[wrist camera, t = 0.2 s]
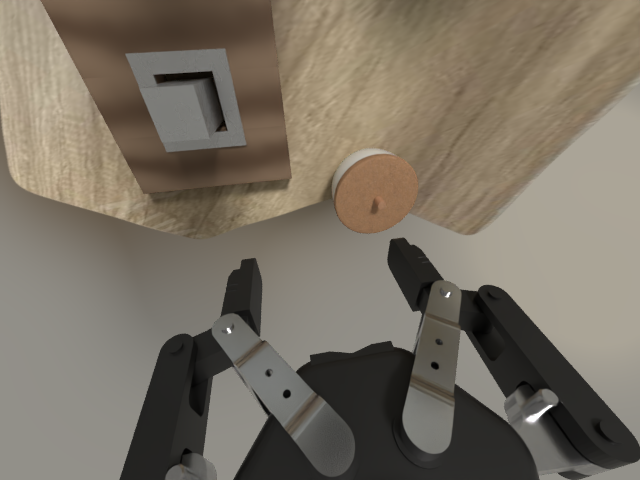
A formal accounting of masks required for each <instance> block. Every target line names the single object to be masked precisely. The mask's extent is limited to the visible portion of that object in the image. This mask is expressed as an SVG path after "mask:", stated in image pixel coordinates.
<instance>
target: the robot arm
mask: <svg viewBox="0 0 640 480" xmlns="http://www.w3.org/2000/svg"><path fill="white" fill-rule="evenodd" d="M387 260H388V265H389V268H390V270H391V272H392V274H393V276H394V278H395V280H396V281H397V283H398V285H399V287H400V289H401V291H402V292H403V294H404V296H405V298H406V300H407V301H408V304H409V305H410V307H411V309H412V311H413V312H414V311H421V313H422V317H421V320H420V324H419V328H418V332H417V336H416V340H415V344H414V347H413V350H412V352H409V351H407V350H405V349H402V348H397V347H393V345H392V342H391V341H387V342H382V343H376V344H371V345H369V346H367V347H365V348H363V349H361V350H359V351H356V352H354V353H342V352H326V353H320V354H314V355H310V360H311V361H310V362H308V363H306V364H305V365H303V366H302V367H300V368H299V369H298V370H297V371H296V372H295V371H294V370H293V369H292V368H291V367H290V366H289V365H288V363H287V362H286V361H285V360H284V359H283V358H282V357H281V356H280V355H279V354H278V353H277V352H276V351H275V350H274V349H273V347H272V346H271V345H270V344H269V343H268V342H267V341H262V340H261V339H260V338H259V337H260V325H261V303H262V279H261V275H260V271H259V268H258V265H257V261H256V259H255V258H251V259H245V260H242V261H241V267H240V269H238V270H233V272H232V273H231V275H230V276H229V278H228V282H227V287H226V293H225V297H224V302H223V307H222V312H221V317H220V318H219V319H218V320H217V321H216V322H215V323H214V325H213V327H212V328H211V329H209V330H208V331H205V332H203V333H201V334H199V335H197V336H194V337H191V336H190V335H188V334H179V335H176V336H174V337H172V338H171V339H169V340H168V341H167V342H166V343H165V344H164V345H163V347H162V348H161V350H160V353H159V356H158V359H157V363H156V366H155V369H154V372H153V375H152V379H151V382H150V385H149V388H148V391H147V394H146V398H145V401H144V404H143V407H142V410H141V413H140V416H139V420H138V423H137V427H136V429H135V432H134V436H133V439H132V442H131V445H130V449H129V451H128V455H127V458H126V461H125V464H124V468H123V471H122V474H121V477H120V480H217V474H216V470H215V467H214V465H213V464H212V463H211V462H209V461H208V460H207V459H205V458H204V457H203V450H204V443H205V435H206V427H207V419H208V411H209V403H210V395H211V387H212V379H213V376H214V375H216V374H218V373H220V372H222V371H224V370H226V369H228V368H230V367H232V368H233V369H234V371H235V372H236V373H237V375H238V376H239V377H240V379H241V380H242V381H243V383H244V384H245V386H246V387H247V388H248V389H249V391H250V392H251V394H252V395H253V397H254V398H255V400H256V401H257V403H258V404H259V406H260V407H261V408H262V410H263V411H264V412H265V414H266V415H267V416H268V419H267V421H266V422H265V424H264V426H263V428H262V430H261V431H260V433H259V435H258V437H257V438H256V440H255V442H254V444H253V445H252V447H251V449H250V451H249V452H248V454H247V456H246V458H245V460H244V461H243V463H242V465H241V467H240V469H239V470H238V472H237V474H236V476H235V478H234V479H233V480H539V475H544V474H552V473H558V474H559V475H561V476H563V477H565V478H568V479H571V480H579V479H582V478H585V477H589V476H592V475H595V474H598V473H602V472H605V471H608V470H611V469H615V468H618V467H621V466H624V465H628V464H630V463H634V462H637V461H638V460H639V459H640V446H639V444H638V442H637V440H636V438H635V437H634V436H633V434H632V433H631V432H630V431H629V429H628V428H627V427H626V426H625V425H624V424H623V423H622V422H621V420H620V419H619V418H618V417H617V416H616V415H615V414H614V413H613V412H612V410H611V409H610V408H609V407H608V406H607V405H606V404H605V402H604V401H603V400H602V399H601V398H600V397H599V396H598V395H597V393H596V392H595V391H594V390H593V389H592V388H591V387H590V386H589V384H588V383H587V382H586V381H585V380H584V379H583V378H582V377H581V375H580V374H579V373H578V372H577V371H576V370H575V369H574V368H573V367H572V365H571V364H570V363H569V362H568V361H567V360H566V359H565V358H564V357H563V355H562V354H561V353H560V352H559V351H558V350H557V349H556V347H555V346H554V345H553V344H552V343H551V342H550V341H549V340H548V338H547V337H546V336H545V335H544V334H543V333H542V332H541V331H540V329H539V328H538V327H537V326H536V325H535V324H534V323H533V322H532V320H531V319H530V318H529V317H528V316H527V315H526V314H525V313H524V311H523V310H522V309H521V308H520V307H519V306H518V305H517V304H516V302H515V301H514V300H513V299H512V298H511V297H510V296H509V295H508V294H507V293H506V292H505V291H504V290H502V289H501V288H499V287H496V286H492V285H483V286H481V287H480V288H479V290H478V292H477V291H468V290H460V289H459V288H458V287H457V286H456V285H455V284H453V283H451V282H449V281H445V280H444V279H443V278H442V277H441V276H440V274H439V273H438V271H437V270H436V269H435V267H434V266H433V265H432V263H431V262H430V261H429V259H428V258H427V257H426V255H425V254H424V253H423V251H422V250H421V249H420V248H418V247H417V246H415V245H410V244H409V243H408V242H407V240H406V239H405V238H397V239H391V241H390V246H389V252H388V259H387ZM460 330H464V331H465V332H466V334H467V335H468V337H469V339H470V340H471V342H472V344H473V345H474V347H475V348H476V350H477V352H478V353H479V355H480V357H481V358H482V360H483V361H484V363H485V365H486V366H487V368H488V369H489V371H490V373H491V374H492V376H493V377H494V379H495V381H496V382H497V384H498V386H499V387H500V389H501V391H502V392H503V394H504V395H505V397H506V400H505V403H504V408H505V412H506V414H507V416H508V421H509V423H510V424H508V423H507V422H506V421H505V420H503V418H501V417H500V416H499V415H497V414H496V413H494V412H493V411H492V410H490V409H489V408H488V407H486V406H485V405H484V404H482V403H481V402H479V401H478V400H477V399H475V398H474V397H473V396H471V395H470V394H469V393H467V392H466V391H464V390H463V389H462V388H460V387H459V386H458V385H456V384H455V376H456V368H457V358H458V349H459V340H460Z"/></svg>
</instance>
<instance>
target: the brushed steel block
mask: <svg viewBox="0 0 640 480" xmlns="http://www.w3.org/2000/svg"><path fill="white" fill-rule="evenodd" d="M139 89H140V92H141V94H142V96H143V99H144V101H145V103H146V106H147V108H148V111H149V113H150V115H151V118H152V120H153V122H154V125H155V127H156V129H157V132H158V134H159V137H160V139H161V141H162V143H164V142H175V141H187V140H199V139H210V138H211V136H212V135H213V134H214V132H215V131H216V130H217V128H218V127H219V126H220V124H221V123H222V122H223V120H224V118H223V114H222V110H221V106H220V102H219V98H218V95H217V91H216V87H215V83H214V79H213V78H198V79H182V80H171V81H167V82H163V83H159V84H155V85H151V86H147V87H143V88H139Z"/></svg>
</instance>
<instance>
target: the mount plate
mask: <svg viewBox="0 0 640 480" xmlns="http://www.w3.org/2000/svg"><path fill="white" fill-rule="evenodd" d="M41 2H42V4H43V6H44V7H45V9H46V11H47V13H48V15H49V17H50V19H51V21H52V22H53V24H54V26H55V28H56V30H57V32H58V34H59V36H60V37H61V39H62V41H63V43H64V45H65V47H66V49H67V51H68V53H69V54H70V56H71V58H72V60H73V62H74V64H75V66H76V68H77V69H78V71H79V73H80V75H81V77H82V79H83V81H84V83H85V84H86V86H87V88H88V90H89V92H90V94H91V96H92V98H93V99H94V101H95V103H96V105H97V107H98V109H99V111H100V113H101V114H102V116H103V118H104V120H105V122H106V124H107V126H108V128H109V129H110V131H111V133H112V135H113V137H114V139H115V141H116V143H117V144H118V146H119V148H120V150H121V152H122V154H123V156H124V158H125V159H126V161H127V163H128V165H129V167H130V169H131V171H132V173H133V174H134V176H135V178H136V180H137V182H138V184H139V186H140V188H141V189H142V191H143V193H144V194H147V193H156V192H166V191H176V190H185V189H195V188H204V187H214V186H224V185H233V184H243V183H253V182H262V181H272V180H282V179H291V178H292V176H291V168H290V160H289V151H288V143H287V135H286V127H285V118H284V110H283V102H282V93H281V85H280V77H279V69H278V60H277V52H276V44H275V35H274V27H273V19H272V11H271V2H270V0H41ZM205 71H212V72H213V76H214V80H215V83H216V87H217V91H218V95H219V99H220V103H221V107H222V111H223V114H224V118H225V122H226V126H219V127H218V128H217V130H216V131H215V132H214V134H213V135H212V136H211V138H210V139H199V140H187V141H175V142H164V143H162V141H161V139H160V137H159V134H158V132H157V129H156V127H155V125H154V122H153V120H152V118H151V115H150V113H149V111H148V108H147V106H146V103H145V101H144V99H143V96H142V94H141V92H140V89H139V88H143V87H147V86H151V85H155V84H159V83H163V82H167V81H166V79H165V76H164V74H172V73H189V72H205Z"/></svg>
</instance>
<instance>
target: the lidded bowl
mask: <svg viewBox="0 0 640 480" xmlns="http://www.w3.org/2000/svg"><path fill="white" fill-rule="evenodd" d="M417 193H418V179H417V176H416V173H415V171H414V169H413V168H412V167H411V166H410V165H409V164H408V163H407V162H406V161H405V160H403V159H401V158H399V157H398V156H396V155H395V154H393V153H391V152H389V151H386V150H383V149H378V148H365V149H361V150H358V151H356V152H354V153H352V154H350V155H349V156H347V157H346V158H345V159H344V160H343V161H342V162H341V163H340V165H339V166H338V168H337V170H336V171H335V174H334V176H333V180H332V198H333V202H334V206H335V210H336V213H337V216H338V217H339V219H340V221H341V222H342V223H343V224H344V225H345V226H346V227H348V228H349V229H351V230H353V231H356V232H359V233H377V232H380V231H384V230H387V229H389V228H390V227H392V226H394V225H396V224H397V223H398V222H400V221H401V220H402V219H403V218H404V217H405V216H406V215H407V214H408V212H409V211H410V210H411V208H412V206H413V205H414V202H415V200H416V197H417Z"/></svg>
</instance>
